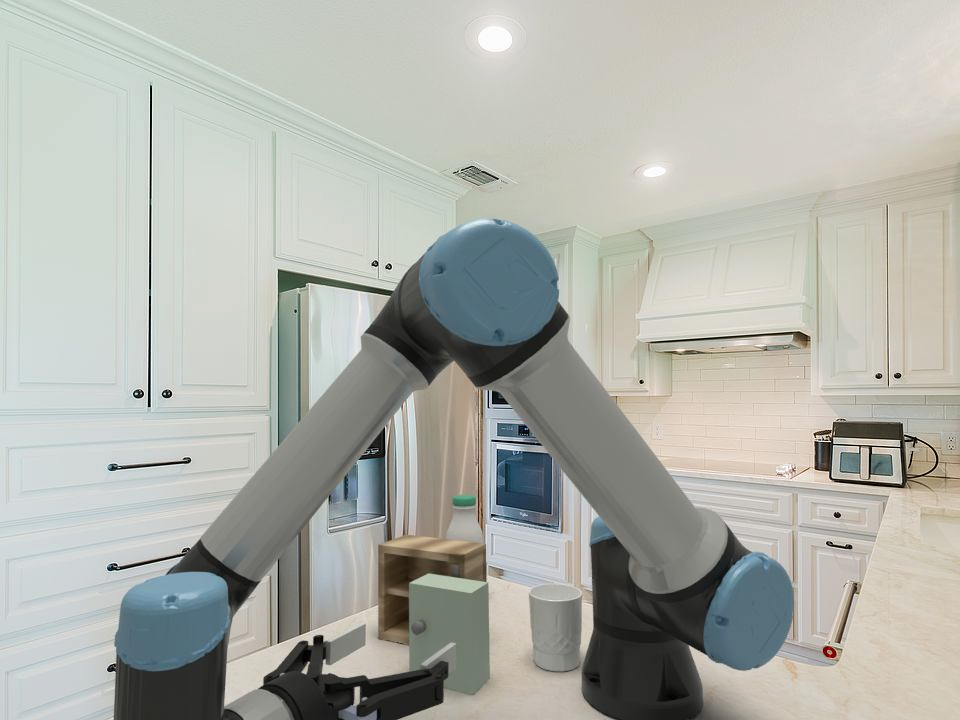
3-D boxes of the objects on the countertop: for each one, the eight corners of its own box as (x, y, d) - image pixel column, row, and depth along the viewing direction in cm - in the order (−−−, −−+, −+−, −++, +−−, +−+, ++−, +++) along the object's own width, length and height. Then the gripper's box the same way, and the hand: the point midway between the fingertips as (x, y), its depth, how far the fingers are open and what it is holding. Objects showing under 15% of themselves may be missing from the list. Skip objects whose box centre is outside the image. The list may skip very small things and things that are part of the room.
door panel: (489, 679, 77) (488, 582, 78) (468, 700, 72) (466, 595, 73) (429, 664, 82) (428, 573, 83) (404, 683, 76) (404, 585, 77)
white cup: (564, 680, 77) (562, 604, 77) (519, 662, 82) (517, 592, 83) (594, 660, 82) (592, 590, 83) (550, 645, 88) (549, 580, 88)
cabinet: (487, 637, 91) (486, 543, 92) (460, 659, 83) (459, 556, 84) (406, 621, 98) (406, 534, 99) (375, 640, 90) (375, 545, 92)
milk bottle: (437, 602, 108) (436, 497, 109) (461, 591, 114) (460, 492, 116) (469, 610, 103) (468, 500, 105) (492, 598, 110) (491, 494, 111)
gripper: (180, 737, 56) (329, 655, 75) (379, 822, 44) (496, 699, 63) (184, 659, 57) (330, 597, 75) (380, 723, 45) (496, 630, 64)
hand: (406, 643), depth 69 cm, fingers open, 13 cm apart
